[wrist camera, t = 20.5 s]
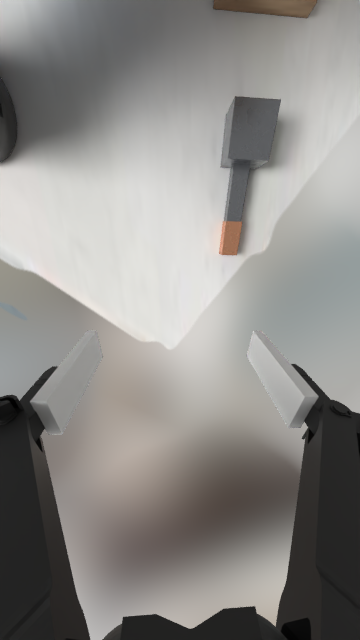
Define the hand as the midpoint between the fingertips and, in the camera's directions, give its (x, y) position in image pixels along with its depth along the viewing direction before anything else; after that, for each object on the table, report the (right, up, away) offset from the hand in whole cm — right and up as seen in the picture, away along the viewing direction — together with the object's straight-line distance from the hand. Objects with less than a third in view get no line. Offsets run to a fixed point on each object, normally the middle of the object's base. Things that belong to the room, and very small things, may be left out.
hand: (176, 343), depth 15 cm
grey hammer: (+11, +28, +21) cm, 36 cm away
